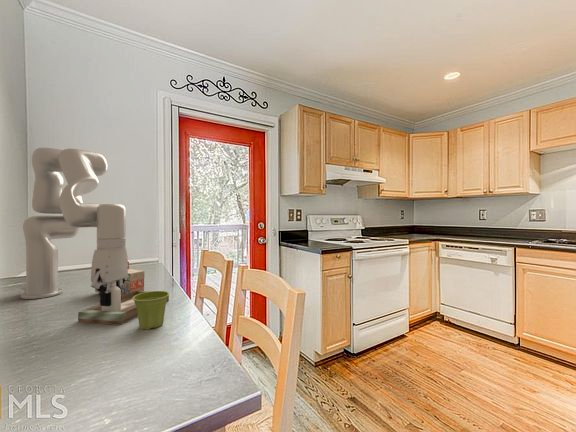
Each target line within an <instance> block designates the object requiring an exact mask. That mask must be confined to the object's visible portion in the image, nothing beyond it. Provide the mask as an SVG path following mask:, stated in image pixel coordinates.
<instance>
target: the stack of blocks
mask: <svg viewBox="0 0 576 432" xmlns="http://www.w3.org/2000/svg"><path fill="white" fill-rule="evenodd" d="M128 275H129V277H128V278H127V279H126V280H125V282H124V284H123V288H122V295H125V294H128V293H131V292H135V291H145V270H139V269H131V268H130V262H129V261H128ZM105 286H106V285H105V284H104V287H105ZM94 292H95V293H99V292H98V290H97V289H95V288H94ZM99 294H100V293H99Z"/></svg>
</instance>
